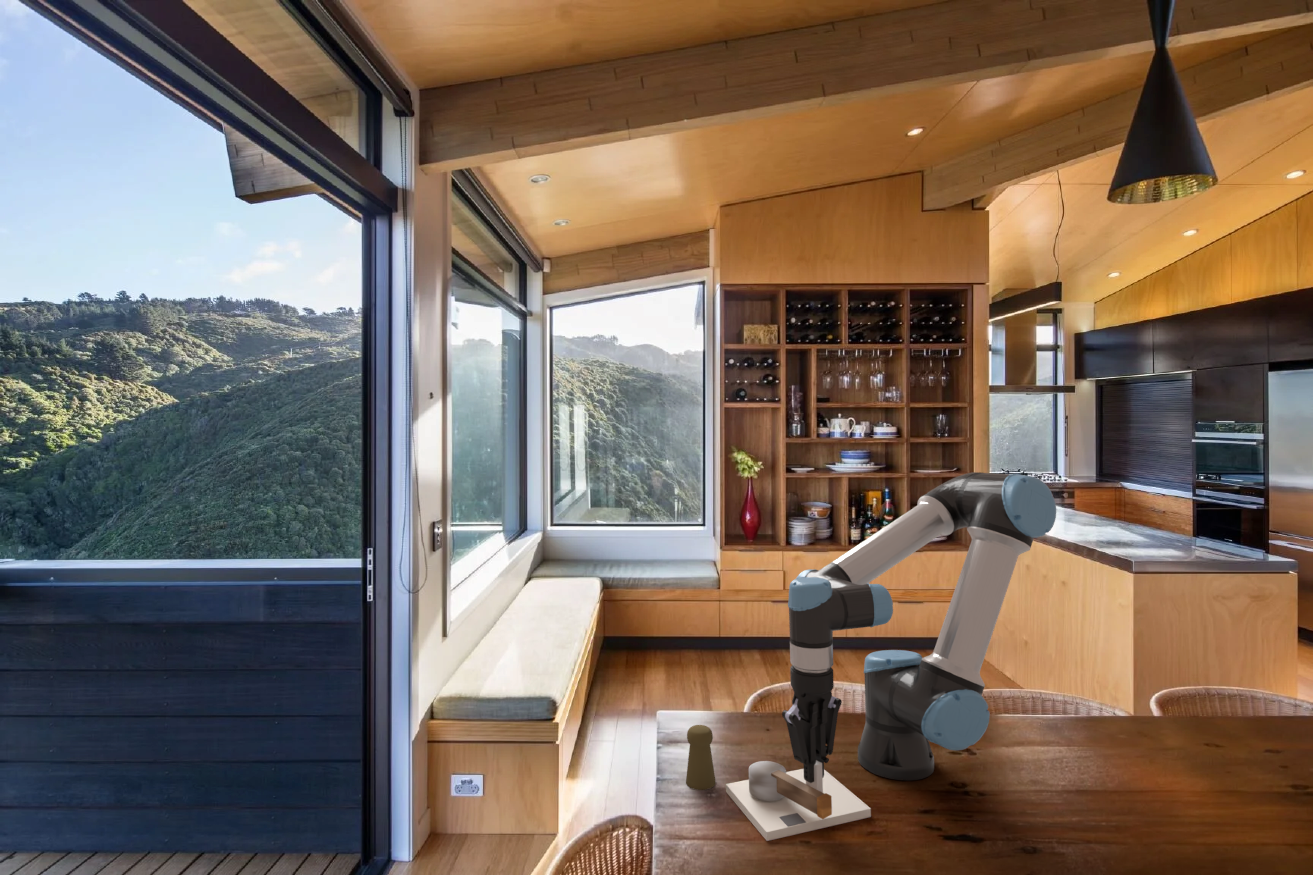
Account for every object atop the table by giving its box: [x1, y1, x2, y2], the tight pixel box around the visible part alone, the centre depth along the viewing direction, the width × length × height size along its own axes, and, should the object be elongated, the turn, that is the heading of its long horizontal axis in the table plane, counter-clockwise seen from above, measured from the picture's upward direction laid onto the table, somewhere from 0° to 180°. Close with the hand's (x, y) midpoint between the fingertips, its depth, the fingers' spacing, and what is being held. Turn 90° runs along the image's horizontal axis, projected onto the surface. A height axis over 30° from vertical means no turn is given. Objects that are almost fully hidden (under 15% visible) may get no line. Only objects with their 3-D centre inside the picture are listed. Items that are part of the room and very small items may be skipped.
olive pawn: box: [685, 724, 717, 791], centre depth 134 cm, size 6×6×11 cm
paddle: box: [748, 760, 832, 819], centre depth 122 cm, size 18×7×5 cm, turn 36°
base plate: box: [725, 768, 872, 842], centre depth 125 cm, size 21×17×2 cm
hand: (814, 797), depth 119 cm, fingers closed
